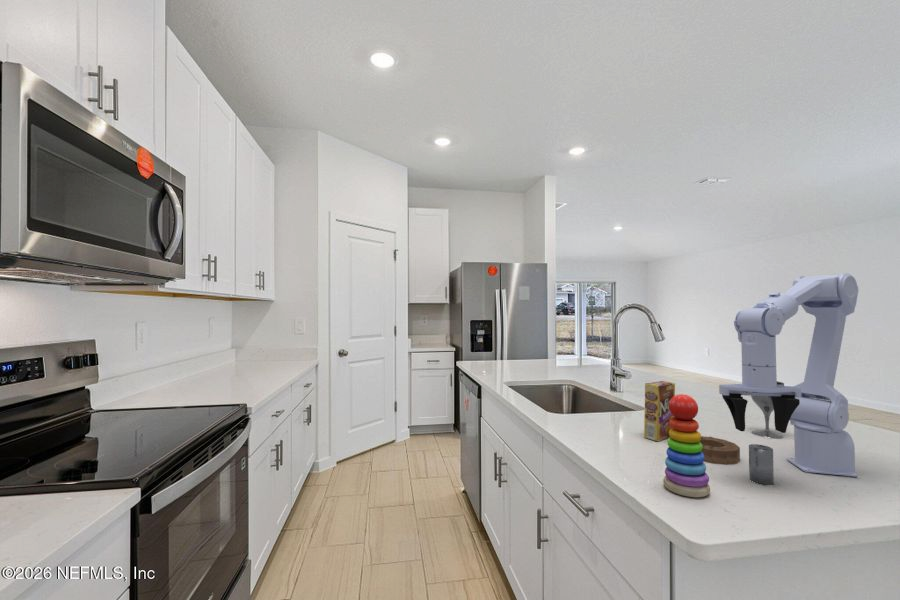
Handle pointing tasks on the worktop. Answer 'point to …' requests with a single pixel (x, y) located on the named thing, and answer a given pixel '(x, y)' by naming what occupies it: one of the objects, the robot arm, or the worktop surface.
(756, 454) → the steel peg
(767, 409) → the wine glass
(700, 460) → the stacking toy
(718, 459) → the walnut bead
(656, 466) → the worktop surface
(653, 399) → the candy box
